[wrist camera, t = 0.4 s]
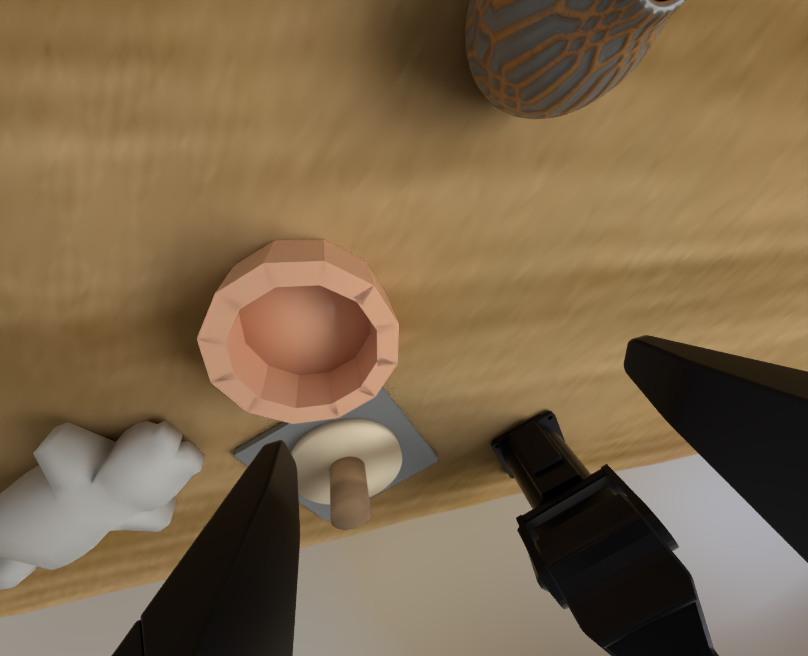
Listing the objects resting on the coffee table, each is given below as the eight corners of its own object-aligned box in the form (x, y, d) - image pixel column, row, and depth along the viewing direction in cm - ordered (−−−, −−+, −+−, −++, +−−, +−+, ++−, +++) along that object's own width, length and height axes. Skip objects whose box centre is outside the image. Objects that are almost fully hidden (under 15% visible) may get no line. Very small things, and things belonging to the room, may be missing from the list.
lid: (417, 460, 29) (434, 514, 25) (331, 507, 30) (333, 568, 26) (364, 398, 24) (373, 452, 20) (263, 456, 25) (252, 520, 21)
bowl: (411, 334, 23) (427, 367, 20) (293, 403, 24) (288, 446, 21) (330, 205, 18) (332, 220, 15) (181, 298, 19) (150, 333, 15)
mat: (436, 455, 30) (439, 460, 30) (327, 515, 31) (327, 521, 31) (370, 371, 24) (371, 376, 24) (234, 449, 25) (233, 455, 24)
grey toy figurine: (223, 512, 22) (-2, 634, 21) (232, 455, 27) (46, 552, 25) (111, 425, 17) (-196, 576, 16) (144, 373, 22) (-94, 487, 20)
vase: (434, 110, 17) (523, 86, 10) (463, -85, 14) (631, -353, 6) (549, 132, 19) (700, 125, 11) (598, -37, 15) (856, -203, 8)
